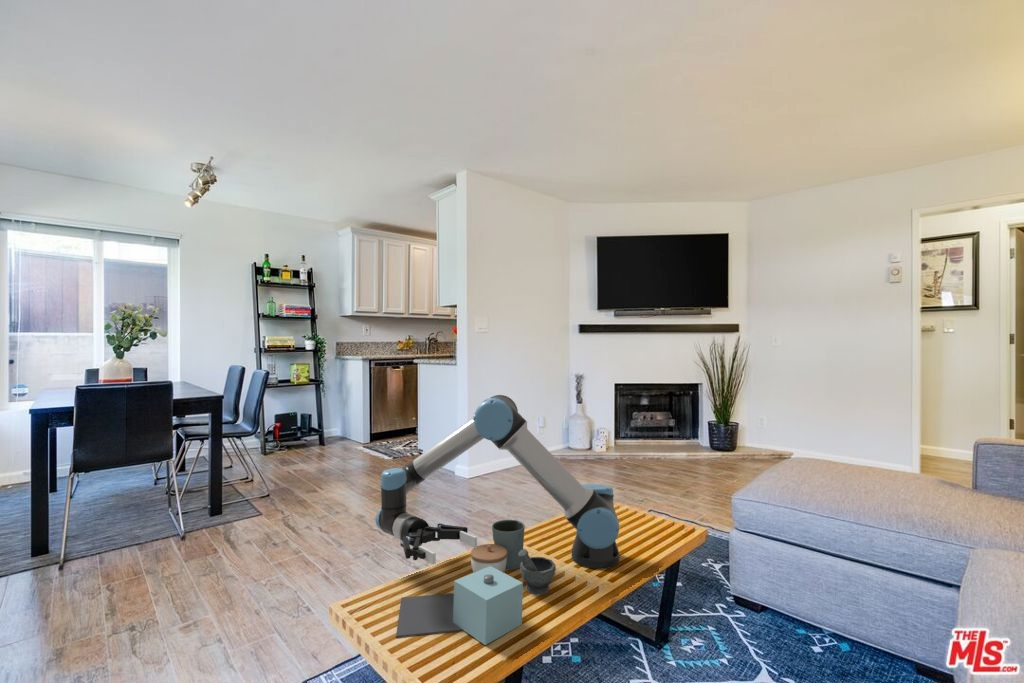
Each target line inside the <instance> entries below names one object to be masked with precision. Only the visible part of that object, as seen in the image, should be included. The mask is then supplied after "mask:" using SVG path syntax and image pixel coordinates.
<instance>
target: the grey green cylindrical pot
mask: <svg viewBox="0 0 1024 683" xmlns="http://www.w3.org/2000/svg"><path fill="white" fill-rule="evenodd" d="M525 526H526V525H525V523H524V522H522V521H520V520H517V519H500V520H498V521H495V522H494V523H492V525H491V531H492V540H493V544H496V545H500V546H503V547H504V548H506V550H507V564H506V569H505V571H512V570H517V569H520V564H521V562H522V560H521V559H520V558H519V556H518V554H519V552H520V551H521V550H523V549H524V539H525Z"/></svg>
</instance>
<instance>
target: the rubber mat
mask: <svg viewBox="0 0 1024 683" xmlns="http://www.w3.org/2000/svg"><path fill="white" fill-rule="evenodd" d="M399 604H400V606H399V611H398V612H399V613H398V617H397V618H398V619H397V625H396V627H397V628H396V634H395V638H407V637H415V636H424V635H433V634H434V635H435V634H446V633H453V632H454V633H455V632H464V630H463V629H461V628H460V627H459V626H457V625H456V624H454V623H453V606H454V592H451V593H450V592H448V593H439V594H437V593H436V594H428V595H427V594H426V595H425V594H424V595H417V596H415V595H414V596H406V597H401V598H400V603H399Z"/></svg>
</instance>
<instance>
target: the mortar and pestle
mask: <svg viewBox="0 0 1024 683" xmlns="http://www.w3.org/2000/svg"><path fill="white" fill-rule="evenodd" d="M518 556H519V558H520V559H521V560H522V562H521V564H520V567H519V570H520V575H521V578H522V580H523V582H524V583H525V584H526V591H527V593H528V594H530V595H531V594H532V595H533V596H543V595H546V594H548V592H549V590H550V585H551V583H552V581H553V579H554V577H555V575H556V563H554V561H553V559H550V558H546V557H543V556H530V555H529V552H528V550H527V549H525V548H523V550H521V551H520V552H519V554H518Z"/></svg>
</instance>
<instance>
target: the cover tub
mask: <svg viewBox="0 0 1024 683" xmlns="http://www.w3.org/2000/svg"><path fill="white" fill-rule="evenodd" d="M523 591H524V583H523V582H522V581H520V580H518V579H516V578H515V577H513V576H510V575H508V574H507V573H505V572H504V573H503V572H501V571H499V570H497V569H495V568H493V567H491V566H489V567H487V568H484V569H482V570H479V571H477V572H472V573H469V574H467V575H465V576H463V577H460V578H458V579H455V580H454V582H453V593H454V606H453V623H454V624H456V625H457V626H459V627H460V628H461V629H463V630H464V631H465V633H467V634H469V635H470V636H471V637H472V638H475V639H476V640H477V641H478V642H480V643H481V644H483V645H484V646H486V645H488V644H491V643H492V642H493V641H496V640H497V639H499V638H501V637H502V636H504V635H506V634H508V633H511V631H513V630H514V629H516V628H519V627H520V626H522V624H523V596H524V594H523V593H524V592H523ZM464 631H463V632H464Z"/></svg>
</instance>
